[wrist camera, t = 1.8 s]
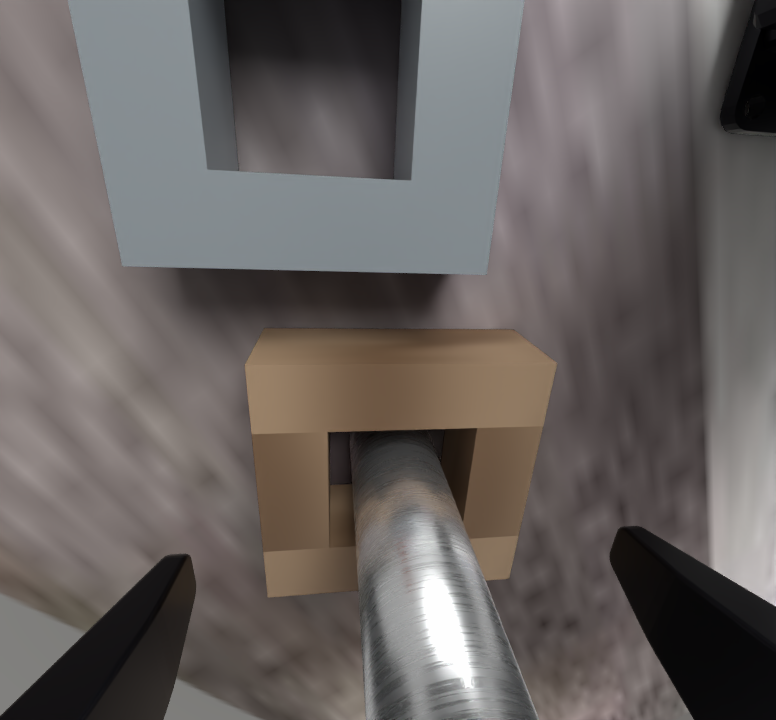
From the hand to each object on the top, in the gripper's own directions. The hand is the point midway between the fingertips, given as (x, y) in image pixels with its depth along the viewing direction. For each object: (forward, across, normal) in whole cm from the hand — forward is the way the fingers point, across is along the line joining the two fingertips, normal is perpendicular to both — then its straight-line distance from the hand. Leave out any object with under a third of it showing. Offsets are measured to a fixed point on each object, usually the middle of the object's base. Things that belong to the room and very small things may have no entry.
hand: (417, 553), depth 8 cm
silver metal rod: (+4, 0, 0) cm, 5 cm away
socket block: (+4, 0, 0) cm, 5 cm away
